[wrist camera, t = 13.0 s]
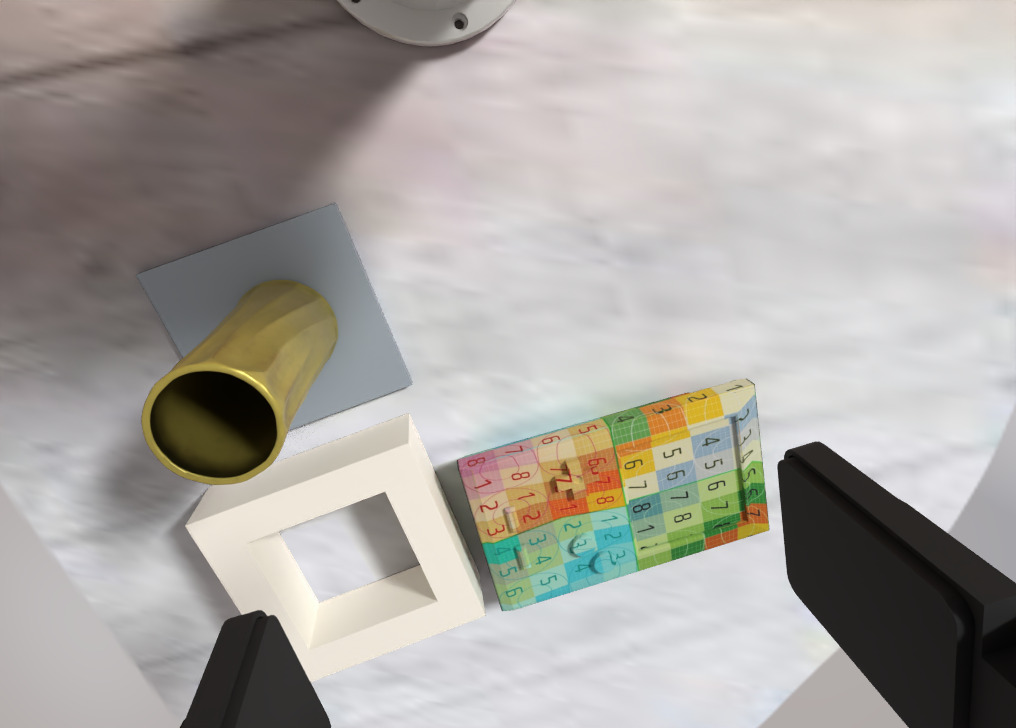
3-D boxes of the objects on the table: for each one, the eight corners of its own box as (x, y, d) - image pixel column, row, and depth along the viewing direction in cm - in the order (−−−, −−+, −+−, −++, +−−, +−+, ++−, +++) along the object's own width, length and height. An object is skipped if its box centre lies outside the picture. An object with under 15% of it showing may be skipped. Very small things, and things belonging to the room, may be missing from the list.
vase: (341, 375, 38) (301, 493, 25) (238, 376, 37) (140, 500, 24) (336, 279, 36) (290, 351, 23) (227, 278, 35) (113, 352, 22)
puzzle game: (459, 476, 37) (762, 389, 39) (454, 443, 42) (726, 365, 43) (503, 620, 41) (776, 537, 43) (495, 576, 46) (742, 502, 47)
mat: (140, 273, 35) (135, 274, 34) (335, 202, 35) (334, 203, 35) (238, 445, 39) (235, 449, 39) (412, 381, 40) (412, 384, 39)
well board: (209, 486, 40) (184, 525, 36) (409, 412, 40) (408, 443, 36) (301, 639, 45) (289, 690, 41) (479, 572, 45) (485, 615, 41)
